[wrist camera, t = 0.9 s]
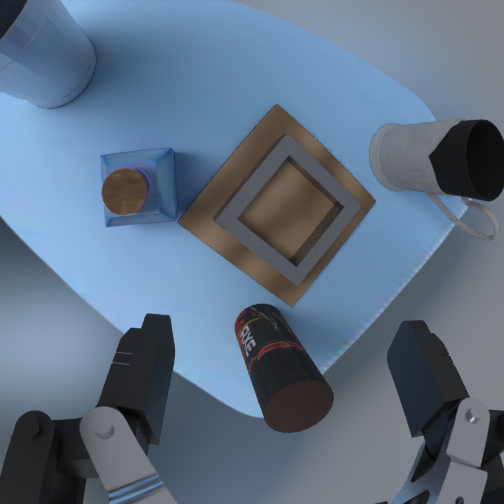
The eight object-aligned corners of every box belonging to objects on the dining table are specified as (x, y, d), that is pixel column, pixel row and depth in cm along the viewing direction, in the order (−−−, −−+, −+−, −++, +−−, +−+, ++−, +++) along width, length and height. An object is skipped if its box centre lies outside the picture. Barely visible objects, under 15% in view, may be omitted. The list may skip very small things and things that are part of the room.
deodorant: (239, 301, 36) (273, 379, 22) (288, 306, 38) (343, 379, 23) (230, 345, 37) (256, 433, 23) (277, 348, 39) (321, 430, 25)
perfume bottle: (174, 152, 31) (167, 141, 19) (177, 211, 32) (172, 233, 21) (115, 158, 30) (78, 151, 18) (120, 216, 31) (86, 241, 20)
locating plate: (177, 221, 32) (176, 226, 29) (274, 105, 31) (284, 98, 28) (288, 303, 37) (298, 316, 34) (371, 200, 36) (387, 203, 33)
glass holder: (403, 112, 34) (492, 99, 20) (443, 204, 39) (526, 223, 25) (357, 142, 34) (447, 135, 20) (403, 239, 39) (488, 272, 24)
